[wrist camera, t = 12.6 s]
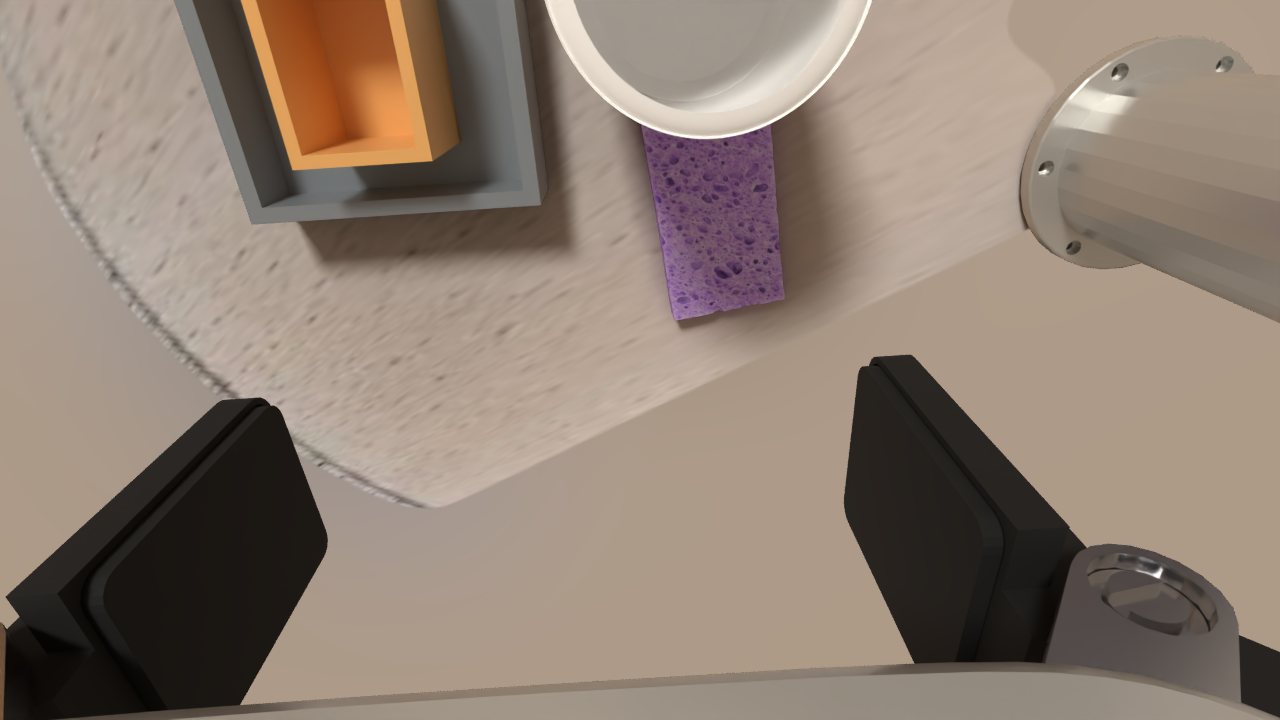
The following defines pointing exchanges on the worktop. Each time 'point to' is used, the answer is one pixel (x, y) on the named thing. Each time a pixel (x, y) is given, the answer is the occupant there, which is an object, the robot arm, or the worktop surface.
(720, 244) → the sponges
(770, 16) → the jar
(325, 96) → the small crate
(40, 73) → the worktop surface
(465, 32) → the grey square tray
